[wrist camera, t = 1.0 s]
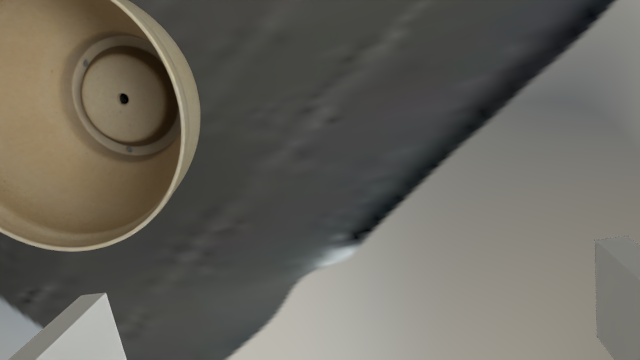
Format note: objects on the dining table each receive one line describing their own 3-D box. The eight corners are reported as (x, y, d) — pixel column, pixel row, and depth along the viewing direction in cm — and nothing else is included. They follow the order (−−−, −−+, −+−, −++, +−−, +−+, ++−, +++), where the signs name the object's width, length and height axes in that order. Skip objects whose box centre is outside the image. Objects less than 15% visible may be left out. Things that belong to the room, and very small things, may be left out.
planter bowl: (45, 188, 41) (-67, 239, 30) (24, -20, 36) (-116, -44, 26) (233, 206, 39) (185, 266, 29) (237, -6, 35) (180, -26, 24)
